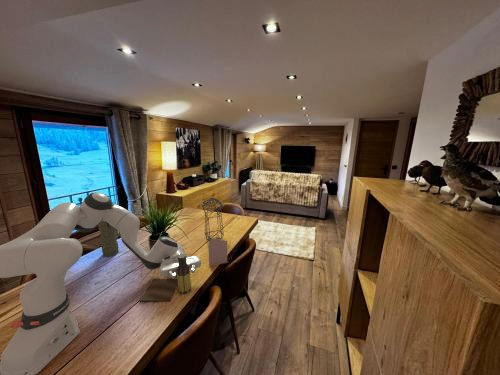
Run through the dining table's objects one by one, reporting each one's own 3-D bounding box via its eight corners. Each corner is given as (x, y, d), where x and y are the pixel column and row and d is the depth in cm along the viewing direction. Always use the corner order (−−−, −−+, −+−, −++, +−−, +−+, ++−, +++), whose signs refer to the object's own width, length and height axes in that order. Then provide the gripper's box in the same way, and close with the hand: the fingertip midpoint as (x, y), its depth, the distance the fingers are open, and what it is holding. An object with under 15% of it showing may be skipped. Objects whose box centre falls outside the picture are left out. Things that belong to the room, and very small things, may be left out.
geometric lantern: (226, 243, 148) (225, 199, 140) (205, 247, 142) (203, 201, 134) (221, 234, 162) (220, 193, 154) (202, 237, 157) (200, 195, 148)
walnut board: (170, 301, 92) (169, 299, 92) (139, 302, 91) (139, 300, 91) (179, 280, 107) (179, 278, 107) (153, 280, 106) (152, 278, 106)
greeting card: (227, 261, 125) (227, 240, 122) (223, 268, 118) (222, 246, 115) (211, 258, 128) (211, 237, 125) (206, 265, 121) (205, 243, 118)
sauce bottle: (191, 285, 103) (189, 251, 99) (191, 294, 97) (189, 258, 93) (178, 287, 102) (176, 252, 97) (177, 296, 96) (175, 260, 91)
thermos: (109, 259, 125) (102, 206, 117) (98, 254, 129) (90, 204, 122) (123, 252, 132) (117, 203, 125) (112, 248, 137) (105, 200, 130)
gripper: (197, 260, 114) (204, 273, 102) (159, 270, 104) (162, 286, 92) (197, 250, 113) (204, 263, 101) (158, 259, 103) (161, 274, 91)
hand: (184, 274), depth 97 cm, fingers open, 8 cm apart
